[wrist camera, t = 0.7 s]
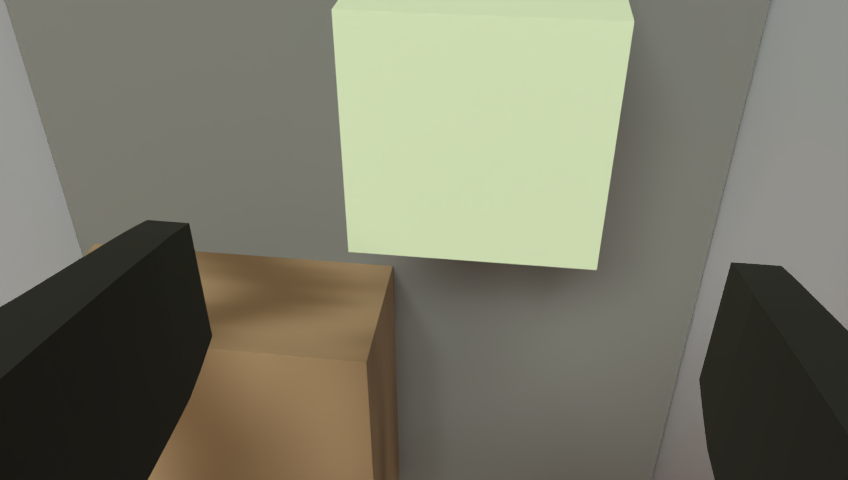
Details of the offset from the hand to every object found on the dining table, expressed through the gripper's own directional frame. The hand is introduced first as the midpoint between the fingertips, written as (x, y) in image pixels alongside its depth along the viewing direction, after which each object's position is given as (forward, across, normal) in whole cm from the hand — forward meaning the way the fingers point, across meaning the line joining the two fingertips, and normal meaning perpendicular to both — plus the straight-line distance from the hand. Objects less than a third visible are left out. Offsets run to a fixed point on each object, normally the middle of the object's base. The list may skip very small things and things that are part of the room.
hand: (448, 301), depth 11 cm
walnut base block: (+10, +7, +11) cm, 16 cm away
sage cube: (+10, 0, 0) cm, 10 cm away
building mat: (+10, +3, +6) cm, 12 cm away
